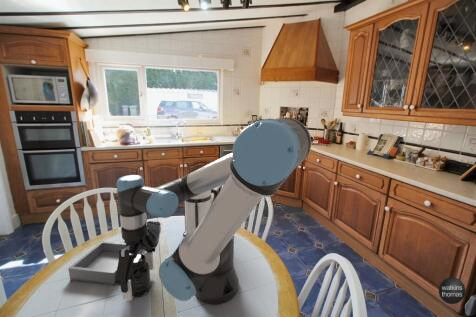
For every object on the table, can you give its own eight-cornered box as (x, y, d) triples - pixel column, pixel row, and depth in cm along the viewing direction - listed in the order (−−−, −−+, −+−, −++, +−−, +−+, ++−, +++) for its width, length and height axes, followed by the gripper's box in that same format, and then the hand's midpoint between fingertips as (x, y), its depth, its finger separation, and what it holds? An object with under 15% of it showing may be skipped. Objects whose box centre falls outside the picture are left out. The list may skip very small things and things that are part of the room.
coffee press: (214, 244, 105) (214, 180, 98) (179, 244, 105) (176, 180, 99) (218, 225, 122) (218, 169, 115) (188, 225, 122) (185, 169, 115)
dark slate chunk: (165, 225, 122) (165, 216, 121) (155, 250, 101) (154, 240, 100) (135, 226, 121) (134, 218, 120) (118, 252, 100) (116, 242, 99)
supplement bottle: (154, 283, 82) (152, 252, 79) (145, 298, 75) (142, 266, 72) (135, 281, 82) (132, 251, 80) (124, 297, 76) (121, 264, 73)
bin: (141, 255, 97) (140, 244, 96) (115, 285, 80) (113, 273, 79) (103, 251, 99) (102, 241, 98) (70, 280, 83) (68, 268, 81)
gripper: (143, 207, 86) (147, 258, 91) (94, 246, 62) (103, 313, 67) (163, 208, 85) (166, 259, 90) (120, 248, 61) (128, 316, 66)
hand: (139, 282), depth 78 cm, fingers open, 13 cm apart
